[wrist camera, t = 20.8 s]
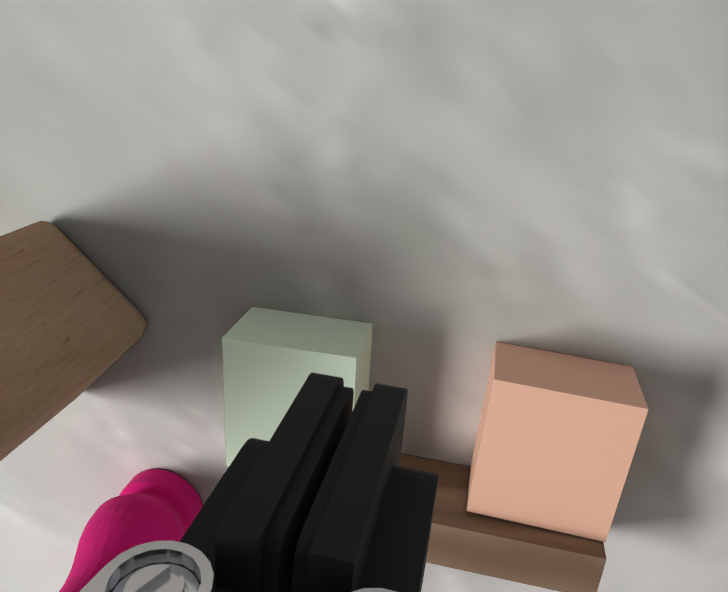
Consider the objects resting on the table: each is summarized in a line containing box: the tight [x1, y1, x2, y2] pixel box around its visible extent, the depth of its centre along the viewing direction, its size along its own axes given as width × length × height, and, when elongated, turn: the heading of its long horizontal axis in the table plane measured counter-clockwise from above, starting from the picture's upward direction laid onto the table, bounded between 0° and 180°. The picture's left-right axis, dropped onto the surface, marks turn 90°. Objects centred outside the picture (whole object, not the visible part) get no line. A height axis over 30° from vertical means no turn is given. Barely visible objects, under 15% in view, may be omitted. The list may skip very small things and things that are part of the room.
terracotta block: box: [467, 342, 649, 542], centre depth 38 cm, size 9×8×5 cm
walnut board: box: [399, 454, 606, 592], centre depth 41 cm, size 3×22×6 cm, turn 85°
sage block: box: [222, 307, 373, 466], centre depth 41 cm, size 9×8×5 cm
